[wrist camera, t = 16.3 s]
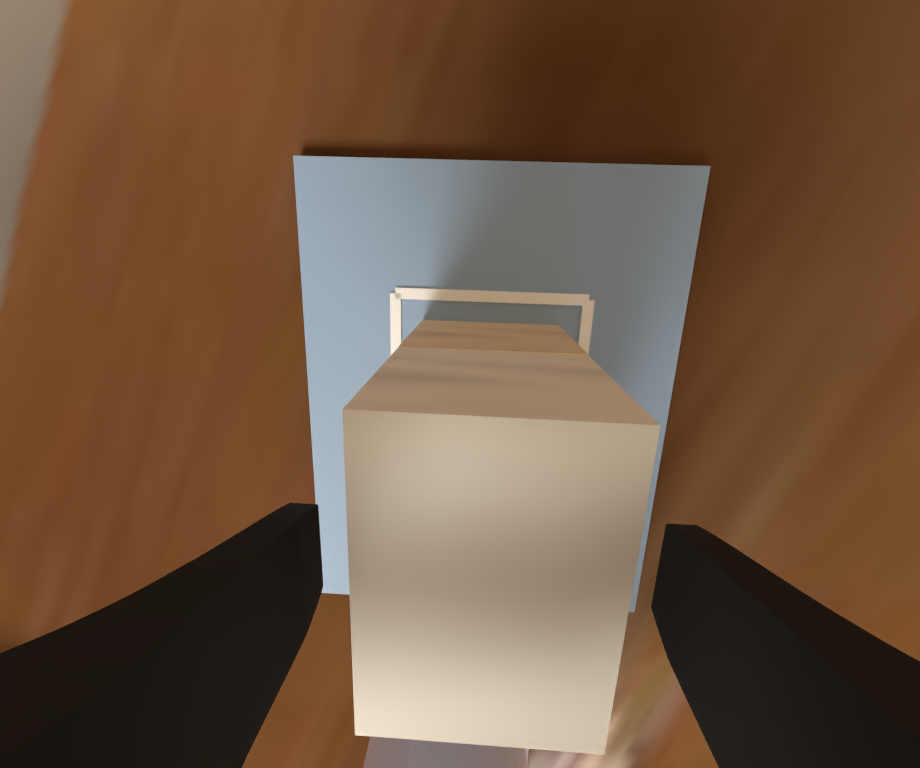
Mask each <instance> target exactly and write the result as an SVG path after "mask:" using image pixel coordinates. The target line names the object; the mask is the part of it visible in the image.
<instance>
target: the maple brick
mask: <svg viewBox="0 0 920 768" xmlns="http://www.w3.org/2000/svg"><path fill="white" fill-rule="evenodd" d="M398 347H411V348H433V349H455V350H477V351H499V352H521V353H543V354H565V355H587V356H588V353H587V352H586V351H585V350H584V349H583V348H582V347H581V346H579V345H578V344H577V343H576V342H575V341H574V340H573V339H572V338H571V337H570V336H569V335H568V334H567V333H566V332H565V331H564V330H563V329H562V328H561V327H560V326H559V325H545V324H518V323H492V322H466V321H439V320H422V321H421V322H420V323H419V324H418V326H417V327H416V328H415V329H414V330H413V331H412V332H411V333H410V334H409V335H408V337H407V338H406V339H405V340H404V341H403V342H402V343H401V344H400V345H399V346H398Z"/></svg>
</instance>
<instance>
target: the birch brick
mask: <svg viewBox="0 0 920 768" xmlns="http://www.w3.org/2000/svg"><path fill="white" fill-rule="evenodd" d="M342 413H343V438H344V464H345V489H346V515H347V540H348V566H349V591H350V617H351V643H352V668H353V694H354V719H355V735H360V736H373V737H386V738H399V739H411V740H424V741H437V742H450V743H462V744H475V745H488V746H501V747H513V748H526V749H539V750H552V751H565V752H577V753H590V754H603V755H604V753H605V747H606V741H607V735H608V730H609V724H610V718H611V712H612V706H613V700H614V695H615V689H616V683H617V677H618V671H619V665H620V660H621V654H622V648H623V642H624V636H625V630H626V625H627V619H628V613H629V607H630V601H631V595H632V589H633V584H634V578H635V572H636V566H637V560H638V554H639V549H640V543H641V537H642V531H643V525H644V519H645V514H646V508H647V502H648V496H649V490H650V484H651V479H652V473H653V467H654V461H655V455H656V449H657V443H658V438H659V432H660V426H661V425H660V424H659V423H658V422H657V421H655V420H654V419H653V418H652V417H651V416H650V415H649V414H648V413H647V412H646V411H645V410H644V409H643V408H642V407H641V406H640V405H639V404H638V403H637V402H636V401H635V400H634V399H633V398H632V397H631V396H630V395H629V394H628V393H627V392H626V391H625V390H624V389H623V388H621V387H620V386H619V385H618V384H617V383H616V382H615V381H614V380H613V379H612V378H611V377H610V376H609V375H608V374H607V373H606V372H605V371H604V370H603V369H602V368H601V367H600V366H599V365H598V364H597V363H596V362H595V361H594V360H593V359H592V358H591V357H590V356H587V355H565V354H543V353H521V352H499V351H477V350H455V349H433V348H411V347H398V348H397V349H396V351H395V352H394V353H393V354H392V355H391V356H390V357H389V358H388V359H387V360H386V362H385V363H384V364H383V365H382V366H381V367H380V368H379V369H378V370H377V372H376V373H375V374H374V375H373V376H372V377H371V378H370V379H369V380H368V381H367V383H366V384H365V385H364V386H363V387H362V388H361V389H360V390H359V391H358V393H357V394H356V395H355V396H354V397H353V398H352V399H351V400H350V401H349V402H348V404H347V405H346V406H345V407H344V408H343V409H342Z"/></svg>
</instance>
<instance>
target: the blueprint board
mask: <svg viewBox="0 0 920 768" xmlns="http://www.w3.org/2000/svg"><path fill="white" fill-rule="evenodd" d="M293 160H294V175H295V191H296V206H297V221H298V237H299V252H300V268H301V283H302V298H303V314H304V329H305V344H306V360H307V375H308V391H309V406H310V421H311V437H312V452H313V468H314V483H315V498H316V504H318V508H319V524H320V540H321V557H322V573H323V589H322V593H334V594H350V591H349V566H348V540H347V515H346V489H345V464H344V438H343V413H342V409H343V408H344V407H345V406H346V405H347V404H348V402H349V401H350V400H351V399H352V398H353V397H354V396H355V395H356V394H357V393H358V391H359V390H360V389H361V388H362V387H363V386H364V385H365V384H366V383H367V381H368V380H369V379H370V378H371V377H372V376H373V375H374V374H375V373H376V372H377V370H378V369H379V368H380V367H381V366H382V365H383V364H384V363H385V362H386V360H387V359H388V358H389V357H390V356H391V355H392V354H393V353H394V352H395V351H396V349H397V348H398V346H399V345H400V344H401V343H402V342H403V341H404V340H405V339H406V338H407V337H408V335H409V334H410V333H411V332H412V331H413V330H414V329H415V328H416V327H417V326H418V324H419V323H420V322H421V321H422V320H439V321H466V322H492V323H518V324H545V325H559V326H560V327H561V328H562V329H563V330H564V331H565V332H566V333H567V334H568V335H569V336H570V337H571V338H572V339H573V340H574V341H575V342H576V343H577V344H578V345H579V346H581V347H582V348H583V349H584V350H585V351H586V352H587V353H588V356H590V357H591V358H592V359H593V360H594V361H595V362H596V363H597V364H598V365H599V366H600V367H601V368H602V369H603V370H604V371H605V372H606V373H607V374H608V375H609V376H610V377H611V378H612V379H613V380H614V381H615V382H616V383H617V384H618V385H619V386H620V387H621V388H623V389H624V390H625V391H626V392H627V393H628V394H629V395H630V396H631V397H632V398H633V399H634V400H635V401H636V402H637V403H638V404H639V405H640V406H641V407H642V408H643V409H644V410H645V411H646V412H647V413H648V414H649V415H650V416H651V417H652V418H653V419H654V420H655V421H657V422H658V423H659V424H660V425H661V426H660V432H659V438H658V443H657V449H656V455H655V461H654V467H653V473H652V479H651V484H650V490H649V496H648V502H647V508H646V514H645V519H644V525H643V531H642V537H641V543H640V549H639V554H638V560H637V566H636V572H635V578H634V584H633V589H632V595H631V601H630V607H629V612H635V607H636V601H637V595H638V589H639V583H640V577H641V572H642V566H643V560H644V554H645V548H646V542H647V536H648V531H649V525H650V519H651V513H652V507H653V501H654V495H655V489H656V484H657V478H658V472H659V466H660V460H661V454H662V448H663V443H664V437H665V431H666V425H667V419H668V413H669V407H670V401H671V396H672V390H673V384H674V378H675V372H676V366H677V360H678V355H679V349H680V343H681V337H682V331H683V325H684V319H685V313H686V308H687V302H688V296H689V290H690V284H691V278H692V272H693V267H694V261H695V255H696V249H697V243H698V237H699V231H700V225H701V220H702V214H703V208H704V202H705V196H706V190H707V184H708V179H709V173H710V167H711V166H691V165H651V164H610V163H570V162H530V161H490V160H450V159H409V158H369V157H329V156H293Z"/></svg>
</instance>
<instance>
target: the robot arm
mask: <svg viewBox="0 0 920 768" xmlns="http://www.w3.org/2000/svg"><path fill="white" fill-rule="evenodd" d="M322 589H323V573H322V557H321V540H320V524H319V508H318V504H300V503H289V504H287V505H285V506H283V507H281V508H279V509H277V510H276V511H274V512H272V513H271V514H269V515H267V516H266V517H264V518H262V519H261V520H259V521H257V522H256V523H254V524H252V525H251V526H249V527H248V528H246V529H244V530H243V531H241V532H239V533H238V534H236V535H234V536H233V537H231V538H230V539H228V540H226V541H225V542H223V543H221V544H220V545H218V546H216V547H215V548H213V549H211V550H210V551H208V552H206V553H205V554H203V555H201V556H200V557H198V558H196V559H194V560H192V561H191V562H189V563H187V564H185V565H184V566H182V567H180V568H178V569H176V570H175V571H173V572H171V573H169V574H167V575H166V576H164V577H162V578H160V579H159V580H157V581H155V582H153V583H151V584H150V585H148V586H146V587H144V588H142V589H140V590H138V591H136V592H135V593H133V594H131V595H129V596H127V597H125V598H123V599H121V600H119V601H117V602H115V603H113V604H111V605H109V606H107V607H105V608H102V609H100V610H98V611H96V612H94V613H92V614H90V615H88V616H86V617H83V618H81V619H79V620H77V621H75V622H73V623H71V624H69V625H66V626H64V627H62V628H60V629H58V630H55V631H53V632H51V633H48V634H46V635H43V636H41V637H39V638H36V639H34V640H31V641H29V642H27V643H24V644H22V645H19V646H17V647H15V648H12V649H10V650H7V651H5V652H3V653H0V768H242V766H243V764H244V761H245V759H246V757H247V755H248V753H249V751H250V749H251V747H252V745H253V743H254V740H255V738H256V736H257V734H258V732H259V730H260V728H261V726H262V724H263V722H264V720H265V718H266V716H267V714H268V712H269V710H270V708H271V706H272V704H273V702H274V700H275V698H276V696H277V694H278V692H279V690H280V688H281V686H282V684H283V682H284V680H285V678H286V676H287V674H288V672H289V670H290V668H291V666H292V663H293V661H294V659H295V657H296V655H297V653H298V651H299V649H300V647H301V645H302V643H303V641H304V639H305V636H306V634H307V632H308V629H309V626H310V624H311V621H312V618H313V615H314V613H315V610H316V607H317V604H318V601H319V598H320V595H321V592H322ZM651 608H652V611H653V614H654V617H655V621H656V624H657V627H658V630H659V633H660V636H661V639H662V642H663V645H664V648H665V651H666V654H667V657H668V659H669V661H670V664H671V666H672V668H673V670H674V673H675V675H676V677H677V679H678V681H679V683H680V686H681V688H682V690H683V692H684V694H685V696H686V699H687V701H688V703H689V705H690V707H691V709H692V711H693V714H694V716H695V718H696V720H697V722H698V724H699V726H700V728H701V731H702V733H703V735H704V737H705V739H706V741H707V743H708V745H709V748H710V750H711V752H712V754H713V756H714V758H715V760H716V762H717V765H718V767H719V768H920V661H918V660H916V659H914V658H912V657H910V656H908V655H907V654H905V653H903V652H901V651H900V650H898V649H896V648H894V647H892V646H891V645H889V644H887V643H885V642H884V641H882V640H880V639H878V638H877V637H875V636H873V635H872V634H870V633H868V632H867V631H865V630H863V629H862V628H860V627H858V626H857V625H855V624H853V623H852V622H850V621H848V620H847V619H845V618H843V617H842V616H840V615H838V614H836V613H835V612H833V611H832V610H830V609H828V608H827V607H825V606H824V605H822V604H820V603H819V602H817V601H816V600H814V599H812V598H811V597H809V596H808V595H806V594H804V593H803V592H801V591H800V590H798V589H797V588H795V587H793V586H792V585H790V584H789V583H787V582H786V581H784V580H783V579H781V578H780V577H778V576H776V575H775V574H773V573H772V572H770V571H769V570H767V569H766V568H764V567H763V566H761V565H760V564H758V563H757V562H755V561H754V560H752V559H751V558H749V557H747V556H746V555H744V554H743V553H741V552H740V551H738V550H737V549H735V548H734V547H732V546H731V545H729V544H727V543H726V542H724V541H723V540H721V539H720V538H718V537H716V536H715V535H713V534H711V533H710V532H708V531H706V530H704V529H703V528H701V527H699V526H697V525H681V524H666V528H665V533H664V539H663V544H662V550H661V555H660V561H659V566H658V572H657V578H656V583H655V589H654V594H653V600H652V605H651ZM528 752H529V749H526V748H513V747H501V746H488V745H475V744H462V743H450V742H437V741H424V740H411V739H399V738H386V737H373V736H370V740H369V744H368V749H367V753H366V757H365V762H364V766H363V768H527V762H528Z"/></svg>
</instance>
